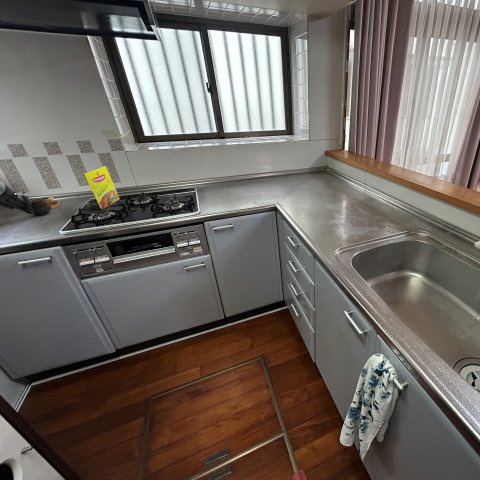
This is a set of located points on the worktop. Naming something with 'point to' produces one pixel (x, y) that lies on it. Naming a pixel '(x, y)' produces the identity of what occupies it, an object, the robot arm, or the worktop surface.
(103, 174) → the food package
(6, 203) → the robot arm
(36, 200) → the mate gourd
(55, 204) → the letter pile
